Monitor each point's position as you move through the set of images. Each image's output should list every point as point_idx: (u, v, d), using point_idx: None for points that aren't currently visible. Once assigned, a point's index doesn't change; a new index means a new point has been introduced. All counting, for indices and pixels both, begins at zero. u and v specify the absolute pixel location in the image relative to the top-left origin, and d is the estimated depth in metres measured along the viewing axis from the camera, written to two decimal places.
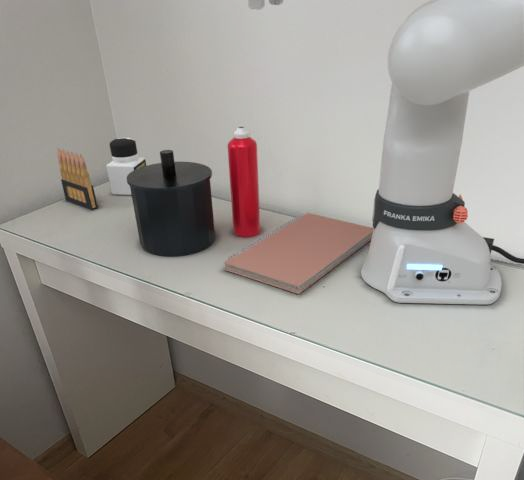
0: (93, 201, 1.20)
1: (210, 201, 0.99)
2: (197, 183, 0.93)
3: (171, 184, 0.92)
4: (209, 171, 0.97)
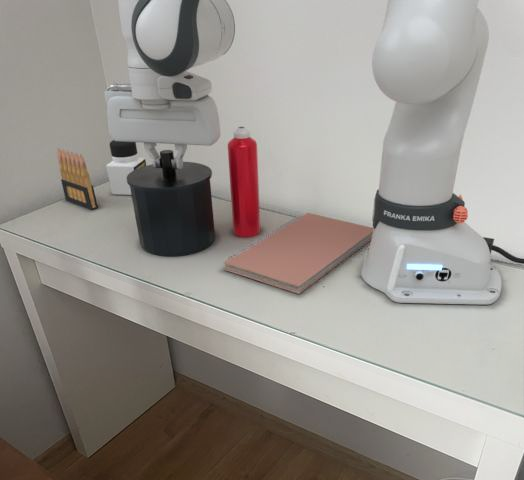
0: (93, 201, 1.20)
1: (210, 201, 0.99)
2: (197, 183, 0.93)
3: (171, 184, 0.92)
4: (209, 171, 0.97)
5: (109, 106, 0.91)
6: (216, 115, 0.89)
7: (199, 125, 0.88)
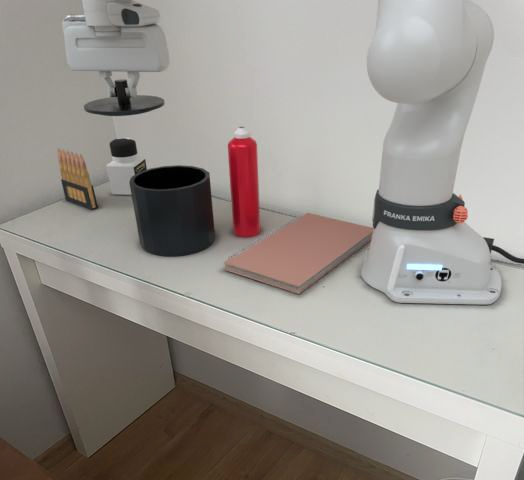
0: (93, 201, 1.20)
1: (210, 201, 0.99)
2: (148, 108, 1.00)
3: (123, 109, 0.99)
4: (162, 101, 1.05)
5: (66, 35, 0.98)
6: (164, 42, 0.96)
7: (148, 51, 0.95)
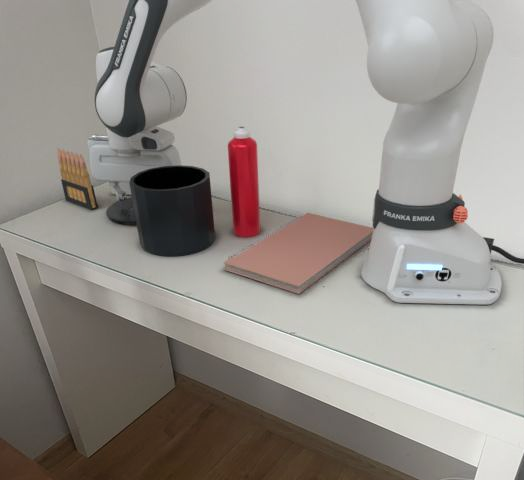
0: (93, 201, 1.20)
1: (210, 201, 0.99)
2: None
3: None
4: None
5: (91, 153, 1.11)
6: (178, 160, 1.09)
7: None
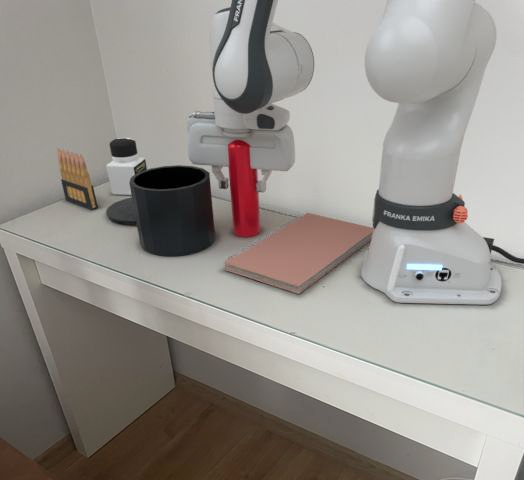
0: (93, 201, 1.20)
1: (210, 201, 0.99)
2: None
3: None
4: None
5: (191, 132, 0.97)
6: (293, 142, 0.95)
7: (277, 152, 0.94)
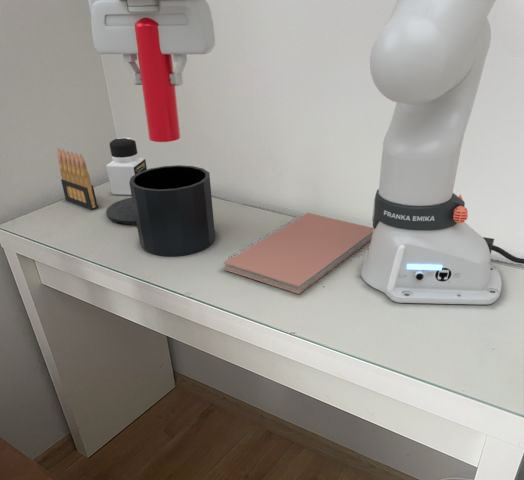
0: (93, 201, 1.20)
1: (210, 201, 0.99)
2: None
3: None
4: None
5: (93, 12, 0.83)
6: (210, 19, 0.81)
7: (191, 29, 0.80)
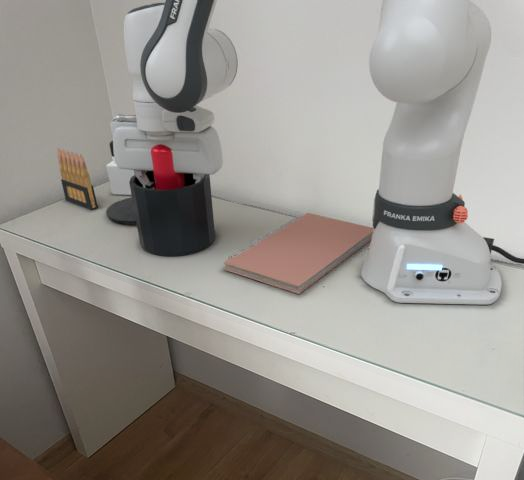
0: (93, 201, 1.20)
1: (210, 201, 0.99)
2: None
3: None
4: None
5: (115, 136, 0.94)
6: (218, 145, 0.92)
7: (202, 155, 0.91)
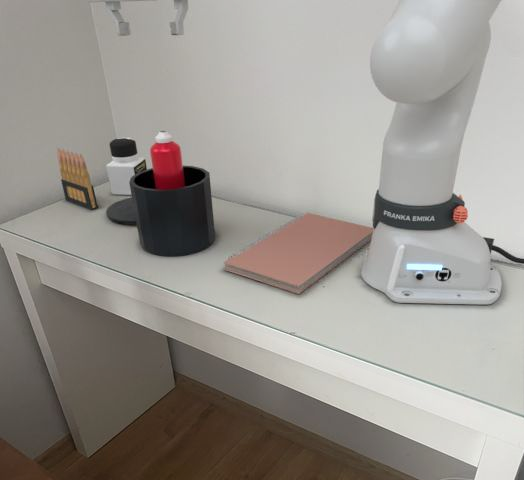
0: (93, 201, 1.20)
1: (210, 201, 0.99)
2: None
3: None
4: None
5: None
6: None
7: None
